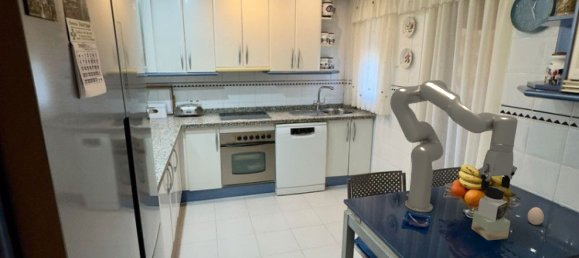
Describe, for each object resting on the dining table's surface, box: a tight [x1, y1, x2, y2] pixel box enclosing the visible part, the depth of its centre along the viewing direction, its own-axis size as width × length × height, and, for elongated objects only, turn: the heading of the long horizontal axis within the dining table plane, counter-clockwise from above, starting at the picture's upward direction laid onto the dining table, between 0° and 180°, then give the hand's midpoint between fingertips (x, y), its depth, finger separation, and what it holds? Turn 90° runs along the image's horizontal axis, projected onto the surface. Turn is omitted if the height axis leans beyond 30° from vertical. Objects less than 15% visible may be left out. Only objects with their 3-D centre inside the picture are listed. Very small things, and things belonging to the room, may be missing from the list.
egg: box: [527, 206, 545, 226], centre depth 135 cm, size 6×6×8 cm
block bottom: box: [471, 220, 510, 241], centre depth 128 cm, size 9×9×4 cm
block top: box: [472, 211, 511, 232], centre depth 127 cm, size 9×9×4 cm
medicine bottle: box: [477, 186, 508, 222], centre depth 125 cm, size 7×7×12 cm
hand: (494, 188), depth 125 cm, fingers open, 9 cm apart
